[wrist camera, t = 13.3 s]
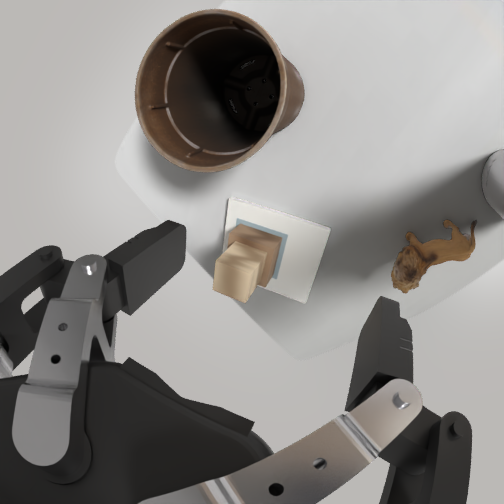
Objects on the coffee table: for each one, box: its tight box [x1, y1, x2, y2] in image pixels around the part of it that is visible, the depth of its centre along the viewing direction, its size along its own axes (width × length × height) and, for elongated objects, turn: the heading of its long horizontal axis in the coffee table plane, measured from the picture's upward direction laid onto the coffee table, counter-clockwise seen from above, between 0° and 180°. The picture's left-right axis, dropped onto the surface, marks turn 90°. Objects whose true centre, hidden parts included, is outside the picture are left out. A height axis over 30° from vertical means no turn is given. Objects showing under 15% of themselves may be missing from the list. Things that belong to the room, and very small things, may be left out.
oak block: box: [213, 241, 267, 303], centre depth 40 cm, size 5×5×6 cm
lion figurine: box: [391, 220, 477, 293], centre depth 31 cm, size 15×5×9 cm, turn 126°
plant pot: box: [135, 9, 304, 172], centre depth 29 cm, size 16×16×16 cm
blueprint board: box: [222, 197, 331, 304], centre depth 46 cm, size 16×14×1 cm
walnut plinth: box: [227, 224, 282, 287], centre depth 44 cm, size 7×7×4 cm
